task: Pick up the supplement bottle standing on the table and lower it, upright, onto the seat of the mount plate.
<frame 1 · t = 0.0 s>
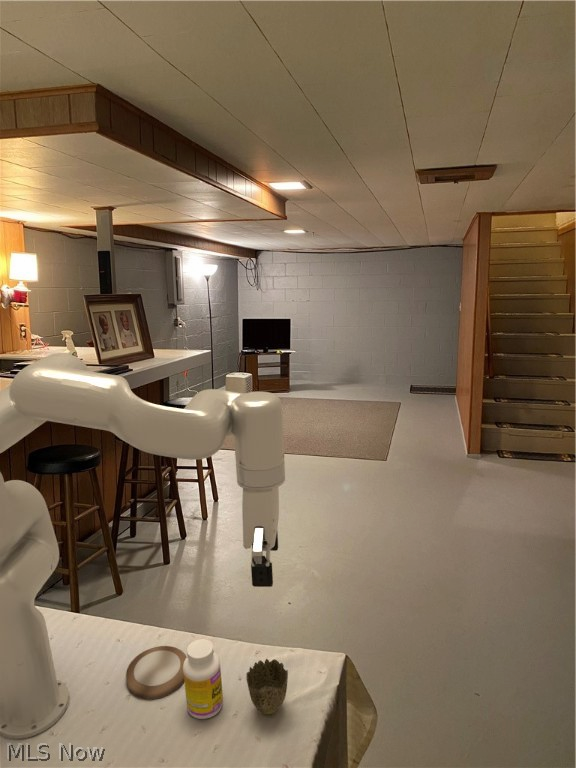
hand: (266, 566, 92), 31 cm above the table, tool pointing down, fingers open, 9 cm apart
brown scalloped shell: (269, 710, 102), on the table
supplement bottle: (205, 706, 104), on the table
mount plate: (158, 674, 111), on the table
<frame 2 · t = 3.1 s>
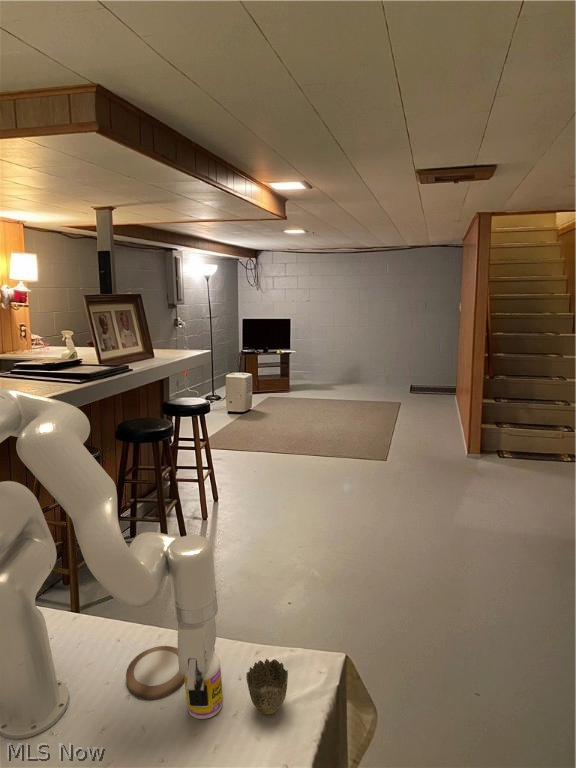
hand: (203, 686, 102), 4 cm above the table, tool pointing down, fingers closed on supplement bottle, 6 cm apart
supplement bottle: (205, 706, 104), on the table, touching gripper
everything else where it was.
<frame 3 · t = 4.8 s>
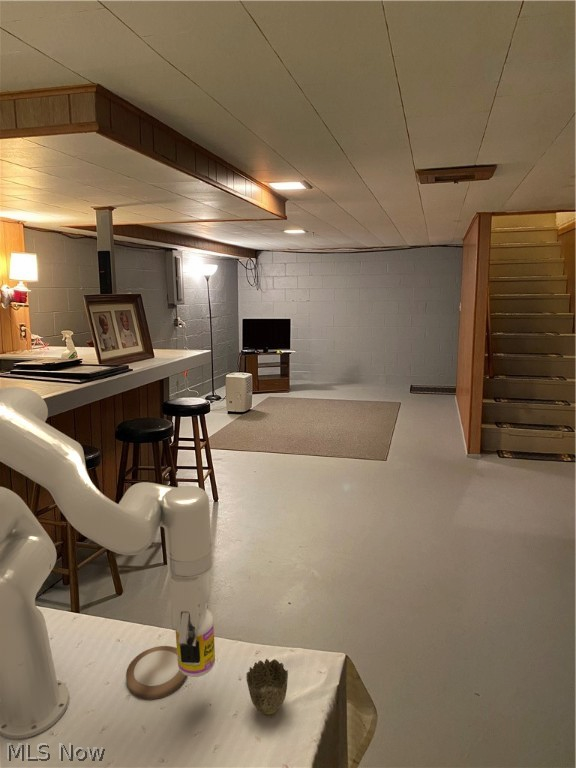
hand: (195, 644, 100), 14 cm above the table, tool pointing down, fingers closed on supplement bottle, 6 cm apart
supplement bottle: (197, 665, 101), point 9 cm above the table, touching gripper
everything else where it was.
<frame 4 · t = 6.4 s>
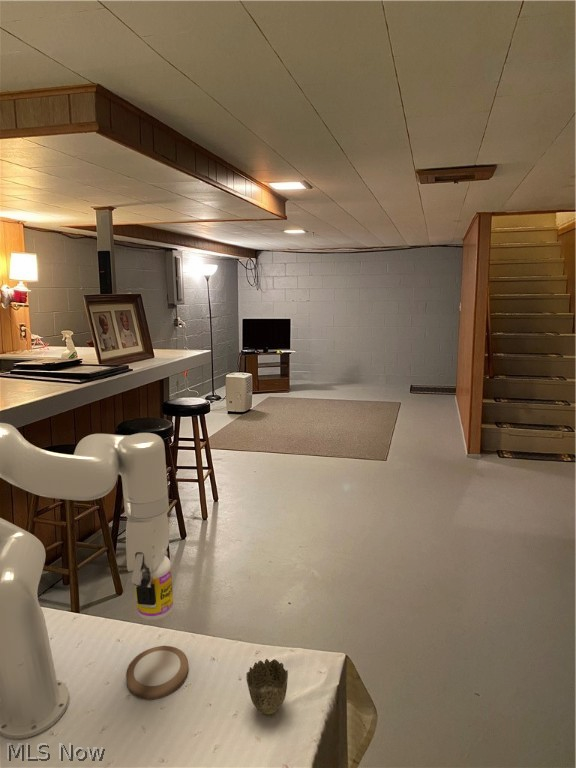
hand: (153, 589, 103), 21 cm above the table, tool pointing down, fingers closed on supplement bottle, 6 cm apart
supplement bottle: (155, 610, 104), point 17 cm above the table, touching gripper
everything else where it was.
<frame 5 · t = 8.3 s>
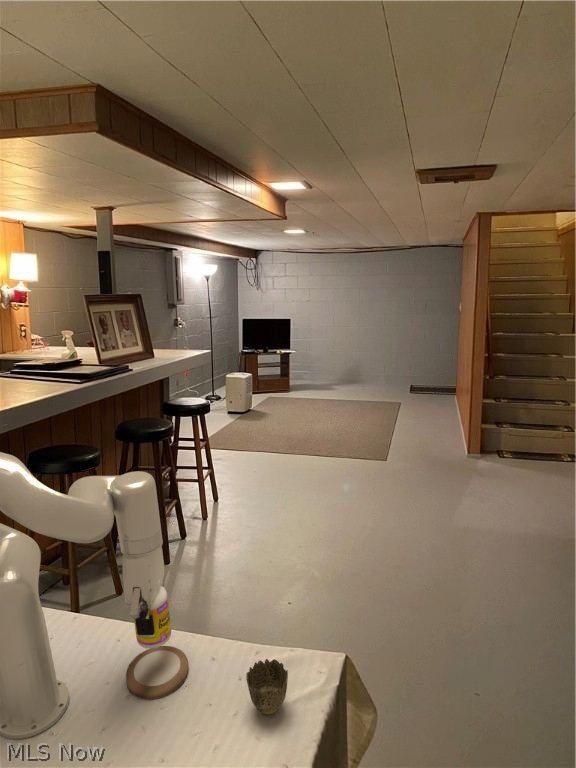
hand: (152, 619, 107), 13 cm above the table, tool pointing down, fingers closed on supplement bottle, 6 cm apart
supplement bottle: (154, 638, 109), point 9 cm above the table, touching gripper
everything else where it was.
when the fingers open (7 cm above the table, at t = 9.9 s): supplement bottle drops 1 cm, resting on mount plate.
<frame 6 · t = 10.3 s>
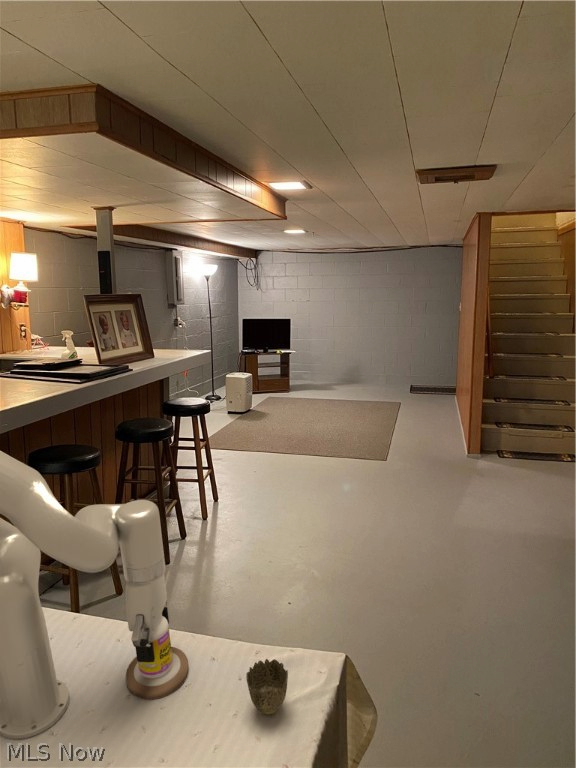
hand: (154, 641, 109), 8 cm above the table, tool pointing down, fingers open, 9 cm apart
supplement bottle: (156, 667, 111), point 2 cm above the table, touching mount plate
everything else where it was.
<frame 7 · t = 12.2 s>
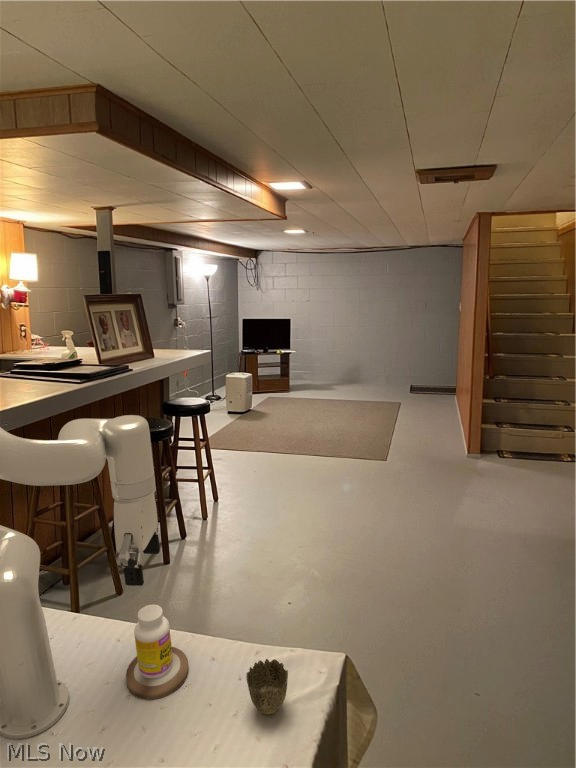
hand: (143, 568, 104), 24 cm above the table, tool pointing down, fingers open, 9 cm apart
nothing on the table moved.
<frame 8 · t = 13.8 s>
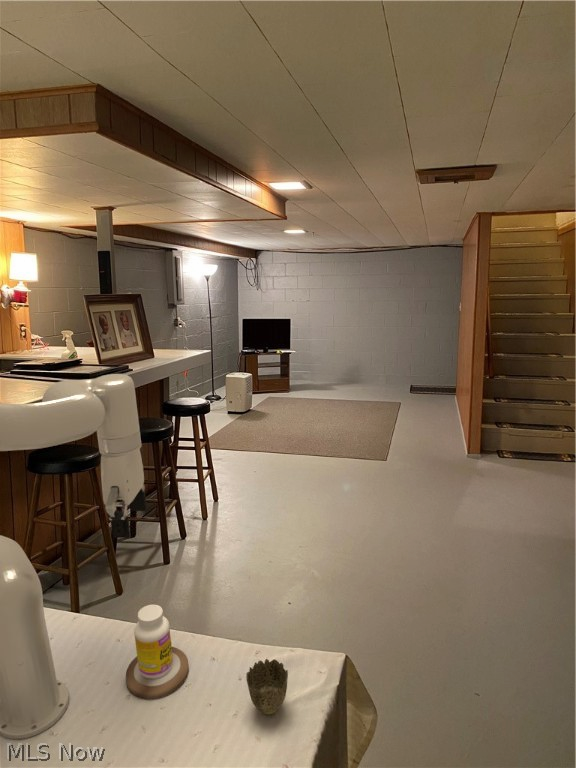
hand: (130, 523, 108), 30 cm above the table, tool pointing down, fingers open, 9 cm apart
nothing on the table moved.
at the end: supplement bottle 0.2 cm off-centre on the mount plate, point 1.5 cm above the mount plate's base; supplement bottle tilted 1°; the gripper is holding nothing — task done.
